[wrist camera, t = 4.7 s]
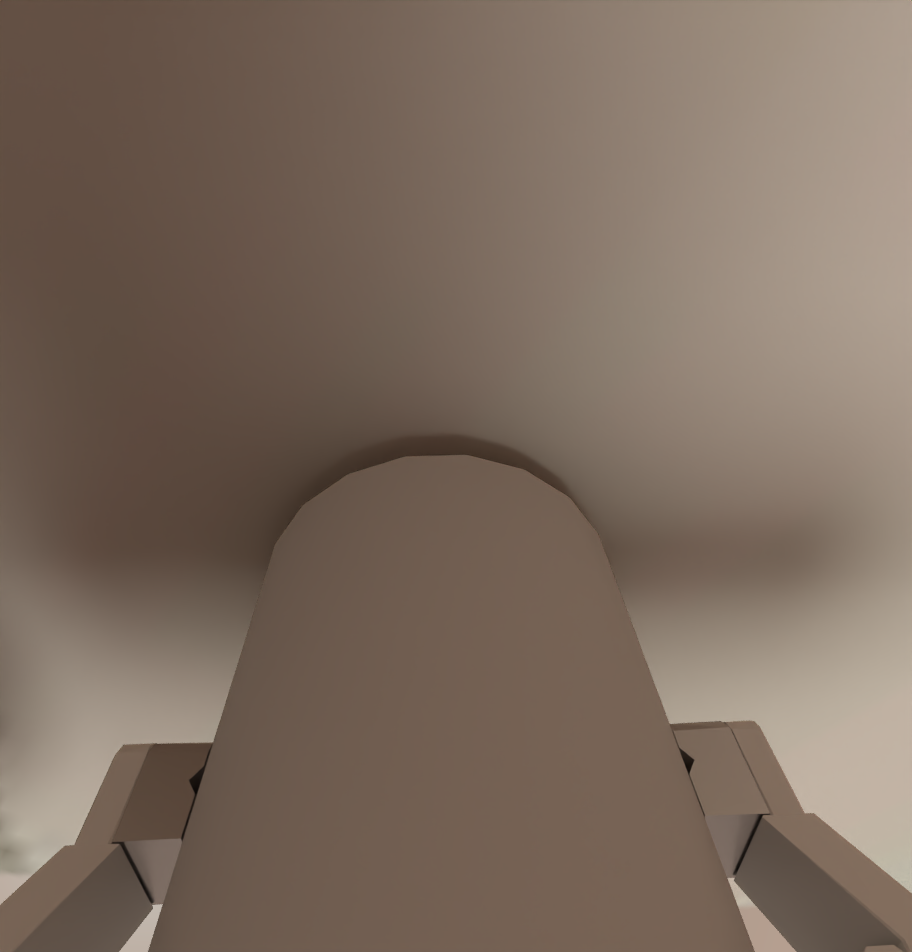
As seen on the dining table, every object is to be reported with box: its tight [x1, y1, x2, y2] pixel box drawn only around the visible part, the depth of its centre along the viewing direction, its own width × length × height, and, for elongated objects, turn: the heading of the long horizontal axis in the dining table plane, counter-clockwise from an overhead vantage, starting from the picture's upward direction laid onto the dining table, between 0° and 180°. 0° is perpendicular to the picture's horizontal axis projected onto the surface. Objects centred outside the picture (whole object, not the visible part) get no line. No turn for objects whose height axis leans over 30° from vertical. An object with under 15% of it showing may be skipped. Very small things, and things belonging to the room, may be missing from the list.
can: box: [148, 455, 755, 952], centre depth 10 cm, size 8×8×12 cm
